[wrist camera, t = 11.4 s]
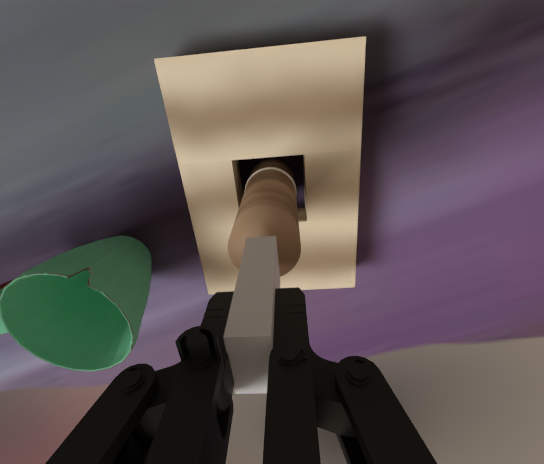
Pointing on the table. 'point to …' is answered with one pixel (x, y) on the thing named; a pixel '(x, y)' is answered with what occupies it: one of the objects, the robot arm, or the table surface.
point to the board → (271, 146)
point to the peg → (268, 213)
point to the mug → (80, 304)
